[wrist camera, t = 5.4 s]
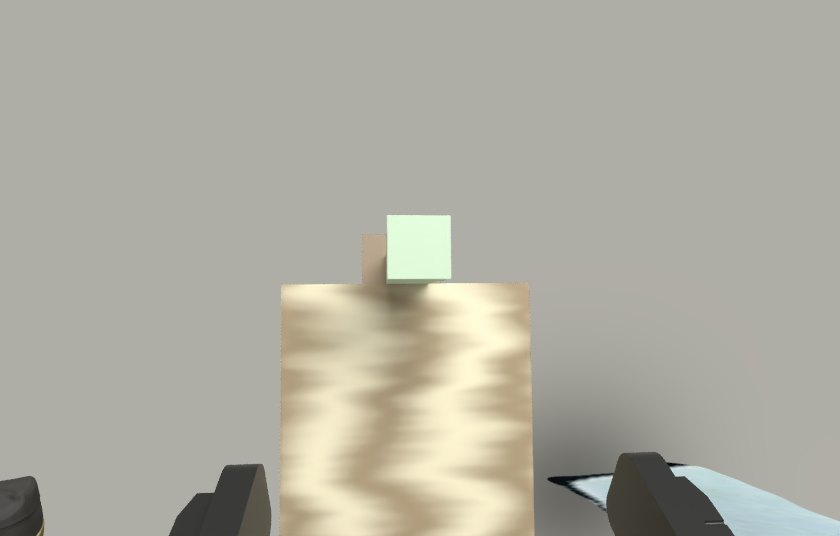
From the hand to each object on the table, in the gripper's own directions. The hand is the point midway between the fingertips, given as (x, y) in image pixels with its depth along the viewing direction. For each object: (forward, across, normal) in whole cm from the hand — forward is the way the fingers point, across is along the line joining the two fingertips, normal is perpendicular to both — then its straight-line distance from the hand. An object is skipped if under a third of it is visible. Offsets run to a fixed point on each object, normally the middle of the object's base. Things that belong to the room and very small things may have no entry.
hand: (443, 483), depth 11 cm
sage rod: (+19, 0, +5) cm, 20 cm away
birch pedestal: (+8, 0, +36) cm, 37 cm away
